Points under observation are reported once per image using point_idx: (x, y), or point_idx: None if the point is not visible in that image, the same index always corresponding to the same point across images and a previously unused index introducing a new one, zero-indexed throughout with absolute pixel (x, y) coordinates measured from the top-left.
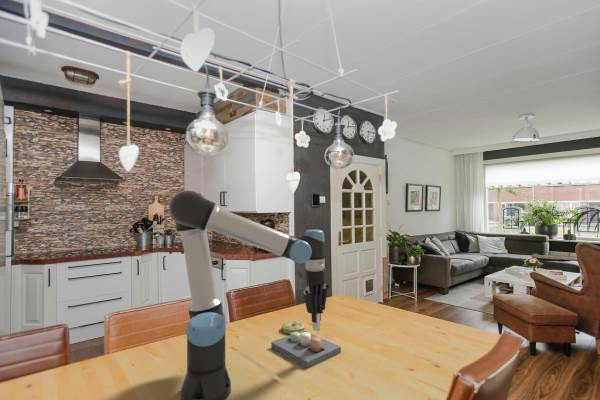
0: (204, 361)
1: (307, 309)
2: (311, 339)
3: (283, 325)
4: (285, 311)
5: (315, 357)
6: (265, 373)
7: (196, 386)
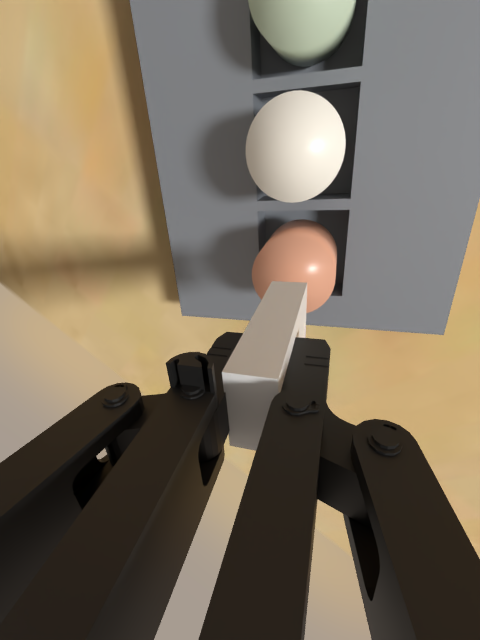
0: None
1: (69, 429)
2: (263, 261)
3: None
4: None
5: (236, 313)
6: (45, 196)
7: None
